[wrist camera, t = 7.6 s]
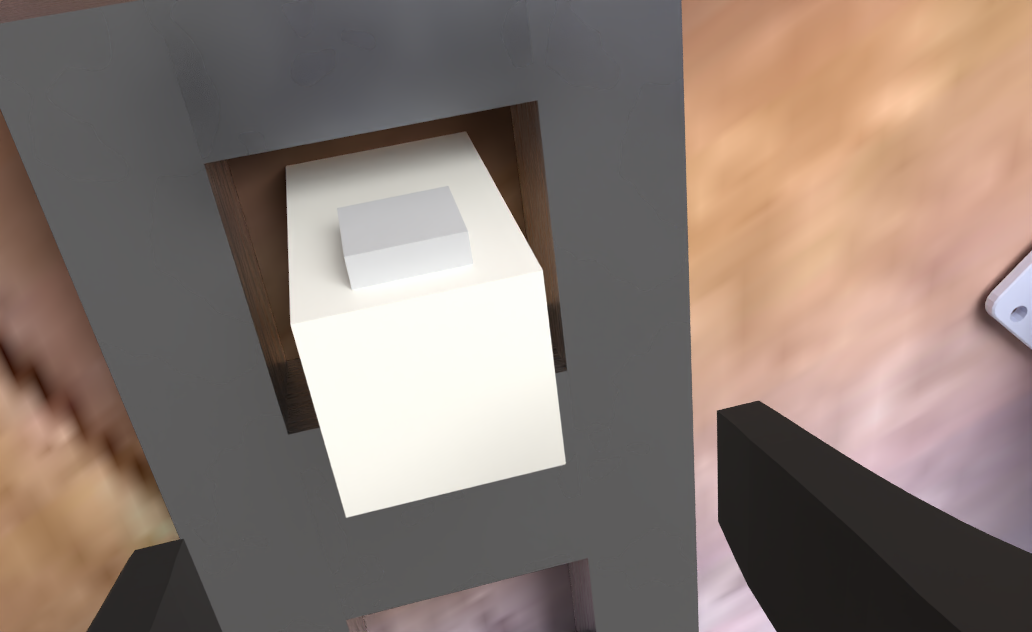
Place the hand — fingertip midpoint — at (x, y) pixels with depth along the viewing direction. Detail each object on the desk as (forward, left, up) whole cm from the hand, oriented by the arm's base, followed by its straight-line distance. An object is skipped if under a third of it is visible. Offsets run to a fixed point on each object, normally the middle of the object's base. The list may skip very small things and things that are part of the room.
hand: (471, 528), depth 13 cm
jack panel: (-4, +4, -10) cm, 12 cm away
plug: (0, 0, -10) cm, 10 cm away
